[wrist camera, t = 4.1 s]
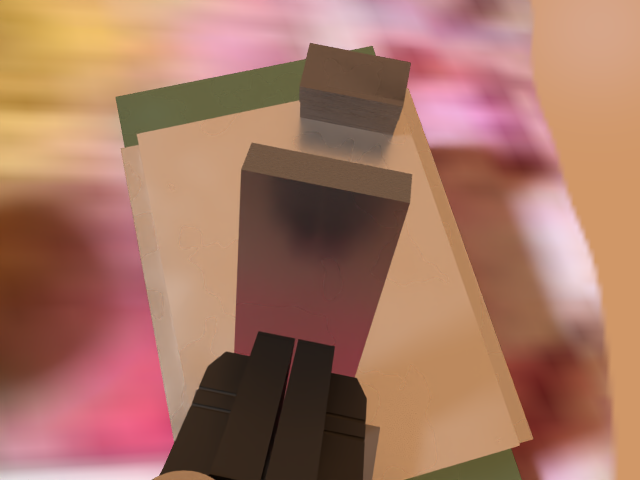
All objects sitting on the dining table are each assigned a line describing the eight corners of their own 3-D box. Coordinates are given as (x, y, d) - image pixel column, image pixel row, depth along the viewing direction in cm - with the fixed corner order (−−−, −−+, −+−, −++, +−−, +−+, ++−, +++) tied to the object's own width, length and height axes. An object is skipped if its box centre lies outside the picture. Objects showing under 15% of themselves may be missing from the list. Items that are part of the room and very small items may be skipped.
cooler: (122, 110, 29) (60, -13, 22) (369, 60, 31) (396, -72, 23) (226, 667, 22) (191, 791, 14) (541, 565, 24) (666, 626, 16)
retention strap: (328, 445, 19) (324, 472, 19) (237, 426, 19) (230, 452, 19) (412, 172, 11) (409, 205, 10) (252, 140, 11) (240, 171, 11)
